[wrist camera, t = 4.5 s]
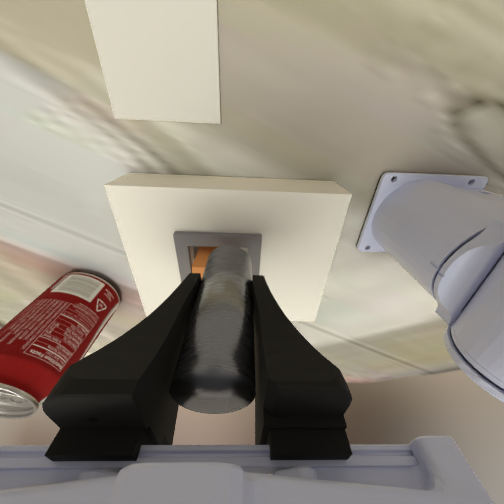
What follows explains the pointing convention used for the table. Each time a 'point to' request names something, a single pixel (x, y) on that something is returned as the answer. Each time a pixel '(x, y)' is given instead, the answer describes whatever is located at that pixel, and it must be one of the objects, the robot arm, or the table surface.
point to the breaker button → (201, 259)
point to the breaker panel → (230, 231)
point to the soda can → (51, 339)
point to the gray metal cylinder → (219, 339)
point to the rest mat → (159, 58)
